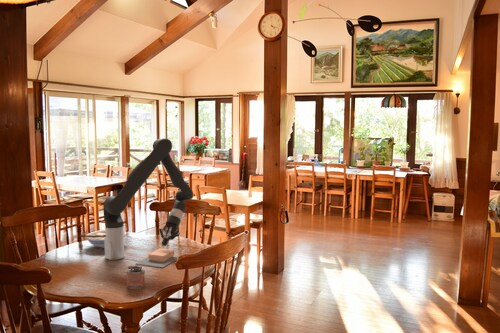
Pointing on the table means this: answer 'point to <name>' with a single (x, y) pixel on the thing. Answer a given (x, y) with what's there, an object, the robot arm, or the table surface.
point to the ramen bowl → (97, 238)
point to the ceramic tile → (161, 255)
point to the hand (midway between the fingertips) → (163, 245)
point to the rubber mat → (156, 264)
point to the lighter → (135, 277)
